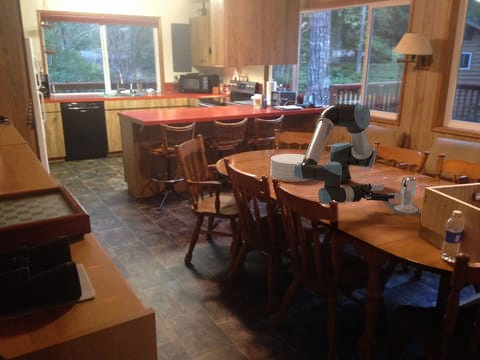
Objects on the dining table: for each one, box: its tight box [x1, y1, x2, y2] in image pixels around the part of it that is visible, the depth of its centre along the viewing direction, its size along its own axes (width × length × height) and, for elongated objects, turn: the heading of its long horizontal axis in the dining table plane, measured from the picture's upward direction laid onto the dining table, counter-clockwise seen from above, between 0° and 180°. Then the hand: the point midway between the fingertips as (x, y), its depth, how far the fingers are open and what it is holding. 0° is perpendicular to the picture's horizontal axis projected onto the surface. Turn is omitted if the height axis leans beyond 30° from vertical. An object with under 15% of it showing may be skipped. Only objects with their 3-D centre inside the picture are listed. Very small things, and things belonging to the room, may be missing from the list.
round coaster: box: [394, 204, 418, 215], centre depth 205 cm, size 11×11×1 cm
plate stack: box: [269, 153, 309, 183], centre depth 266 cm, size 28×28×12 cm
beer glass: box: [400, 176, 418, 210], centre depth 203 cm, size 7×7×15 cm
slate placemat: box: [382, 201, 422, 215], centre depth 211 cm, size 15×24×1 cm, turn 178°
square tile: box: [388, 197, 401, 205], centre depth 216 cm, size 10×10×1 cm
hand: (391, 191), depth 201 cm, fingers open, 13 cm apart
